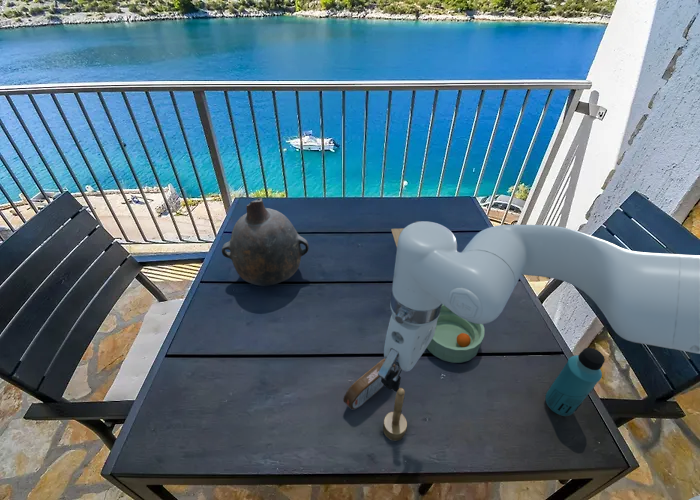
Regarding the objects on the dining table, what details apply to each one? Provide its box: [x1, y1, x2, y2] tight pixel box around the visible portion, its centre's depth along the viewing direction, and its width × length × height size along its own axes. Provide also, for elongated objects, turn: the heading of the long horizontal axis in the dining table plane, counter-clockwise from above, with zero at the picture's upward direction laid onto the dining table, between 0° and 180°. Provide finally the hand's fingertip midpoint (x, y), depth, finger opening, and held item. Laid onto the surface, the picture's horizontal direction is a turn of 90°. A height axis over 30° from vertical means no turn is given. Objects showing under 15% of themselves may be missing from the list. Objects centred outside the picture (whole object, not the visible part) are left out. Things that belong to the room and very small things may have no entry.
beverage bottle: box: [545, 347, 606, 417], centre depth 75 cm, size 6×7×20 cm
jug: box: [221, 197, 310, 286], centre depth 107 cm, size 24×21×30 cm
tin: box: [343, 357, 397, 411], centre depth 81 cm, size 15×3×8 cm, turn 131°
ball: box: [457, 333, 471, 347], centre depth 93 cm, size 4×4×4 cm
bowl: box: [426, 304, 485, 364], centre depth 94 cm, size 16×16×6 cm
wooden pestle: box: [382, 387, 408, 442], centre depth 72 cm, size 5×5×16 cm
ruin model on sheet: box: [390, 220, 421, 247], centre depth 125 cm, size 25×16×10 cm, turn 5°
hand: (403, 365), depth 62 cm, fingers open, 9 cm apart
